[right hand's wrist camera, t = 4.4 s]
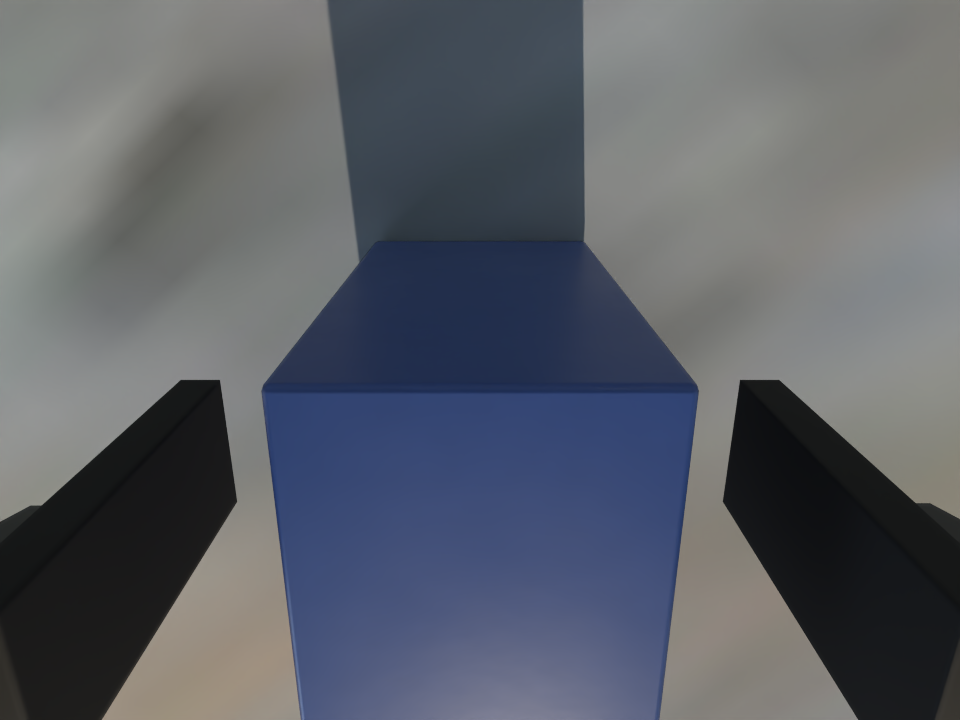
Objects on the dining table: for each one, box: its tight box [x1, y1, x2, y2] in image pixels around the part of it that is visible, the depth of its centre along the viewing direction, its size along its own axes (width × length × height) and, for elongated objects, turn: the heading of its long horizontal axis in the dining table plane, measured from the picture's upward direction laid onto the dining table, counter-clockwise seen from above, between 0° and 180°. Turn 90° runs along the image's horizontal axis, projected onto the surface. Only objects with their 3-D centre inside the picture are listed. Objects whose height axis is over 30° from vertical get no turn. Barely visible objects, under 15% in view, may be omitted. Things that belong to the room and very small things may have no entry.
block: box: [262, 241, 699, 720], centre depth 13 cm, size 5×7×9 cm
